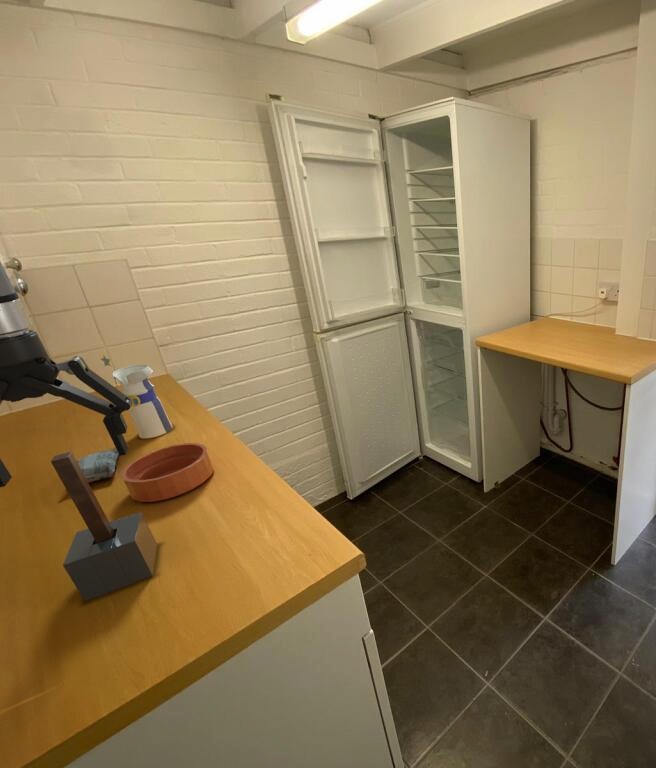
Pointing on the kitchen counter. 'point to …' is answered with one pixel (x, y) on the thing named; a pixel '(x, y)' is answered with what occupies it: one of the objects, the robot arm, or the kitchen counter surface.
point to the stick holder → (112, 557)
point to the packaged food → (99, 465)
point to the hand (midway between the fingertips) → (67, 466)
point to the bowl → (167, 472)
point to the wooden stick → (83, 496)
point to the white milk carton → (142, 400)
